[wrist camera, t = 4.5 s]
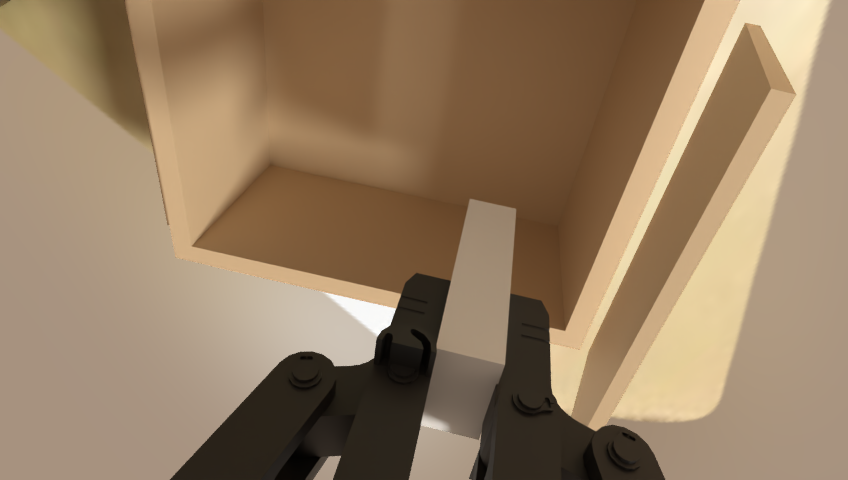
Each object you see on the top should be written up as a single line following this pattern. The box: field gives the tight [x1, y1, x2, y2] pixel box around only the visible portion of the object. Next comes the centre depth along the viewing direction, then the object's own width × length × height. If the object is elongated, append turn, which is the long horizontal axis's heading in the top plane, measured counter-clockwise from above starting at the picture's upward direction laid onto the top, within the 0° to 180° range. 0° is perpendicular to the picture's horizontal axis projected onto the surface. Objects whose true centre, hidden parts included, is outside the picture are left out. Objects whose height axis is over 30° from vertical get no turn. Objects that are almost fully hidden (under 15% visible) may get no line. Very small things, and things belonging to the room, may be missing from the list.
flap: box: [571, 23, 796, 431], centre depth 16 cm, size 8×14×1 cm
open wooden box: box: [124, 0, 740, 350], centre depth 25 cm, size 22×18×10 cm
